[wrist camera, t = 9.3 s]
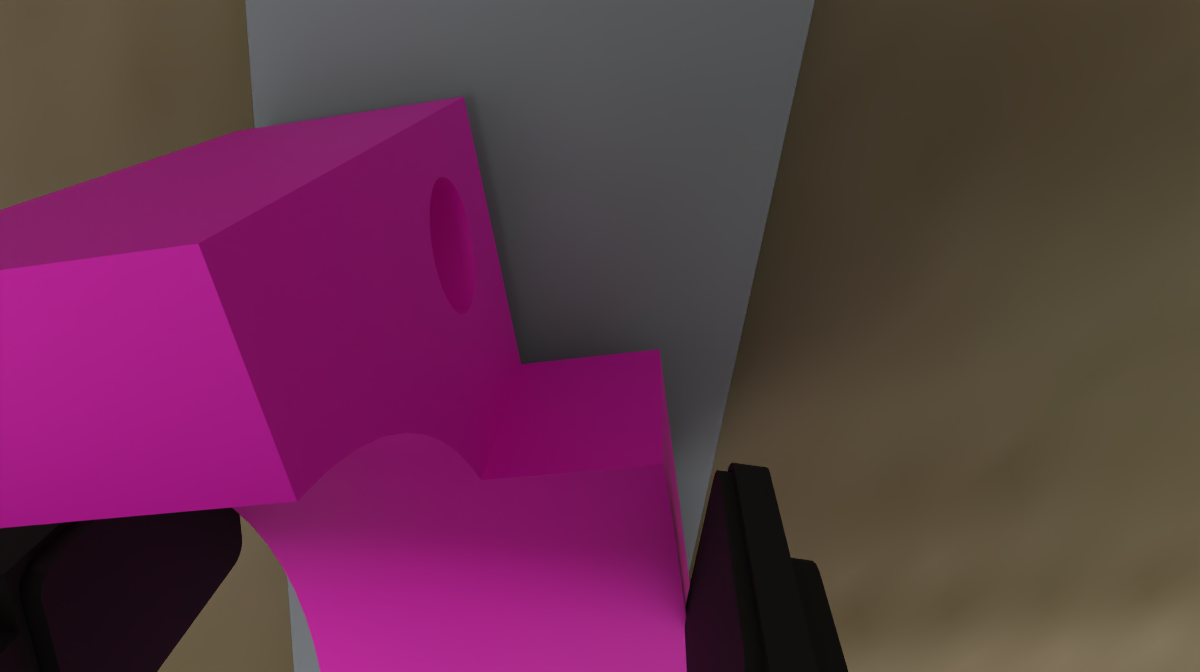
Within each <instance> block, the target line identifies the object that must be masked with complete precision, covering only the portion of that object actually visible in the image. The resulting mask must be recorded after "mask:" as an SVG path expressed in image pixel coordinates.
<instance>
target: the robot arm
mask: <svg viewBox="0 0 1200 672" xmlns="http://www.w3.org/2000/svg"><path fill="white" fill-rule="evenodd" d="M241 546H242V534H241V524H240V515H239V513H238V512H236V511H235V510H234V509H233V508H232V507H230V508H219V509H208V510H197V511H186V512H174V513H163V514H152V515H141V516H130V517H119V518H107V519H96V520H85V521H74V522H63V523H52V524H41V525H29V526H18V527H7V528H1V529H0V672H157V671H158V670H159V668H160V667H161V666H162V664H163V663H164V661H165V660H166V659H167V657H168V656H169V655H170V653H171V652H172V650H173V649H174V648H175V646H176V645H177V643H178V642H179V641H180V639H181V638H182V637H183V635H184V634H185V632H186V631H187V630H188V628H189V627H190V626H191V624H192V623H193V621H194V620H195V619H196V617H197V616H198V615H199V613H200V612H201V610H202V609H203V608H204V606H205V605H206V604H207V602H208V601H209V599H210V598H211V597H212V595H213V594H214V593H215V591H216V590H217V588H218V587H219V586H220V584H221V583H222V582H223V580H224V579H225V577H226V576H227V575H228V573H229V572H230V570H231V569H232V568H233V566H234V565H235V563H236V562H237V560H238V557H239V555H240V551H241ZM685 646H686V666H687V672H848V669H847V666H846V662H845V659H844V655H843V652H842V648H841V645H840V641H839V638H838V634H837V631H836V628H835V624H834V621H833V617H832V614H831V610H830V607H829V603H828V600H827V596H826V593H825V589H824V586H823V583H822V579H821V576H820V572H819V570H818V567H817V565H816V564H815V563H814V562H813V561H810V560H803V559H796V558H791V557H790V553H789V549H788V545H787V541H786V537H785V533H784V529H783V525H782V520H781V516H780V512H779V508H778V504H777V500H776V496H775V492H774V488H773V484H772V480H771V476H770V472H769V469H768V468H766V467H760V466H752V465H745V464H738V463H731V464H730V466H729V468H728V472H727V471H720V470H717V471H716V473H715V476H714V480H713V484H712V489H711V493H710V498H709V502H708V507H707V511H706V516H705V520H704V525H703V529H702V534H701V538H700V543H699V547H698V551H697V556H696V560H695V565H694V569H693V574H692V578H691V583H690V587H689V592H688V596H687V601H686V621H685Z"/></svg>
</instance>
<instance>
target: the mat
mask: <svg viewBox="0 0 1200 672" xmlns="http://www.w3.org/2000/svg"><path fill="white" fill-rule="evenodd" d="M814 2H815V0H245V4H246V17H247V31H248V45H249V58H250V72H251V86H252V99H253V113H254V127H255V128H260V127H267V126H273V125H280V124H286V123H293V122H300V121H306V120H313V119H319V118H326V117H332V116H339V115H346V114H352V113H359V112H365V111H372V110H378V109H385V108H392V107H398V106H405V105H411V104H418V103H424V102H431V101H437V100H444V99H451V98H457V97H464V100H465V105H466V109H467V114H468V119H469V123H470V128H471V133H472V137H473V142H474V147H475V151H476V156H477V161H478V165H479V170H480V175H481V179H482V184H483V188H484V193H485V198H486V202H487V207H488V212H489V216H490V221H491V226H492V230H493V235H494V240H495V244H496V249H497V254H498V258H499V263H500V268H501V272H502V277H503V282H504V286H505V291H506V296H507V300H508V305H509V310H510V314H511V319H512V324H513V328H514V333H515V338H516V342H517V347H518V352H519V356H520V361H521V364H528V363H537V362H546V361H555V360H565V359H574V358H583V357H592V356H602V355H611V354H620V353H629V352H638V351H648V350H657V349H660V356H661V363H662V371H663V379H664V387H665V394H666V402H667V410H668V417H669V425H670V433H671V441H672V448H673V456H674V464H675V472H676V479H677V487H678V495H679V503H680V510H681V518H682V526H683V534H684V541H685V549H686V557H687V564H688V572H689V571H690V566H691V562H692V557H693V552H694V548H695V543H696V539H697V534H698V530H699V525H700V521H701V516H702V512H703V507H704V502H705V498H706V493H707V489H708V484H709V480H710V475H711V471H712V466H713V462H714V457H715V452H716V448H717V443H718V439H719V434H720V430H721V425H722V421H723V416H724V411H725V407H726V402H727V398H728V393H729V389H730V384H731V380H732V375H733V371H734V366H735V361H736V357H737V352H738V348H739V343H740V339H741V334H742V330H743V325H744V321H745V316H746V311H747V307H748V302H749V298H750V293H751V289H752V284H753V280H754V275H755V271H756V266H757V261H758V257H759V252H760V248H761V243H762V239H763V234H764V230H765V225H766V220H767V216H768V211H769V207H770V202H771V198H772V193H773V189H774V184H775V180H776V175H777V170H778V166H779V161H780V157H781V152H782V148H783V143H784V139H785V134H786V130H787V125H788V120H789V116H790V111H791V107H792V102H793V98H794V93H795V89H796V84H797V80H798V75H799V70H800V66H801V61H802V57H803V52H804V48H805V43H806V39H807V34H808V29H809V25H810V20H811V16H812V11H813V7H814ZM287 578H288V577H287ZM288 592H289V606H290V619H291V633H292V647H293V661H294V672H320V668H319V663H318V659H317V655H316V651H315V646H314V643H313V639H312V636H311V633H310V630H309V627H308V623H307V620H306V617H305V614H304V612H303V609H302V607H301V605H300V602H299V600H298V597H297V595H296V592H295V590H294V588H293V586H292V584H291V582H290V580H289V578H288Z"/></svg>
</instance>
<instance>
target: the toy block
mask: <svg viewBox="0 0 1200 672" xmlns="http://www.w3.org/2000/svg"><path fill="white" fill-rule="evenodd" d="M230 507H232V508H233V509H234V510H235V511H236V512H238V513H239V514H240V515H241V516H242V517H243V518H244V519H245V520H246V521H248V522H249V523H250V524H251V525H252V527H253V528H254V529H255V530H256V531H257V532H258V534H259V535H260V536H261V537H262V538H263V540H264V541H265V542H266V543H267V544H268V546H269V547H270V549H271V550H272V552H273V553H274V555H275V556H276V558H277V559H278V561H279V562H280V564H281V565H282V567H283V569H284V571H285V573H286V575H287V577H288V578H289V580H290V582H291V584H292V586H293V588H294V590H295V592H296V595H297V597H298V600H299V602H300V605H301V607H302V609H303V612H304V614H305V617H306V620H307V623H308V627H309V630H310V633H311V636H312V639H313V643H314V646H315V651H316V655H317V659H318V663H319V668H320V672H687V666H686V646H685V621H686V601H687V596H688V592H689V587H690V580H689V572H688V564H687V557H686V549H685V541H684V534H683V526H682V518H681V510H680V503H679V495H678V487H677V479H676V472H675V464H674V456H673V448H672V441H671V433H670V425H669V417H668V410H667V402H666V394H665V387H664V379H663V371H662V363H661V356H660V349H657V350H648V351H638V352H629V353H620V354H611V355H602V356H592V357H583V358H574V359H565V360H555V361H546V362H537V363H528V364H521V361H520V356H519V352H518V347H517V342H516V338H515V333H514V328H513V324H512V319H511V314H510V310H509V305H508V300H507V296H506V291H505V286H504V282H503V277H502V272H501V268H500V263H499V258H498V254H497V249H496V244H495V240H494V235H493V230H492V226H491V221H490V216H489V212H488V207H487V202H486V198H485V193H484V188H483V184H482V179H481V175H480V170H479V165H478V161H477V156H476V151H475V147H474V142H473V137H472V133H471V128H470V123H469V119H468V114H467V109H466V105H465V100H464V97H457V98H451V99H444V100H437V101H431V102H424V103H418V104H411V105H405V106H398V107H392V108H385V109H378V110H372V111H365V112H359V113H352V114H346V115H339V116H332V117H326V118H319V119H313V120H306V121H300V122H293V123H286V124H280V125H273V126H267V127H260V128H254V129H247V130H240V131H236V132H233V133H230V134H227V135H224V136H221V137H218V138H215V139H212V140H209V141H206V142H203V143H200V144H197V145H194V146H191V147H188V148H185V149H182V150H179V151H176V152H173V153H170V154H167V155H164V156H161V157H158V158H155V159H152V160H149V161H146V162H143V163H140V164H137V165H134V166H131V167H128V168H125V169H122V170H119V171H116V172H113V173H110V174H107V175H104V176H101V177H98V178H95V179H92V180H89V181H86V182H83V183H80V184H77V185H74V186H71V187H68V188H65V189H62V190H59V191H56V192H53V193H50V194H47V195H44V196H41V197H38V198H35V199H32V200H29V201H26V202H23V203H20V204H17V205H14V206H11V207H8V208H5V209H2V210H0V528H7V527H18V526H29V525H41V524H52V523H63V522H74V521H85V520H96V519H107V518H119V517H130V516H141V515H152V514H163V513H174V512H186V511H197V510H208V509H219V508H230Z"/></svg>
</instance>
